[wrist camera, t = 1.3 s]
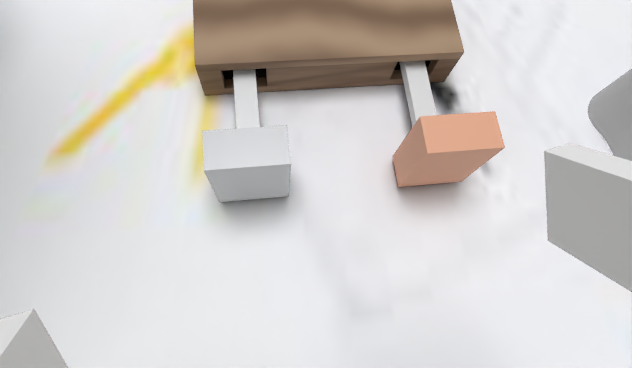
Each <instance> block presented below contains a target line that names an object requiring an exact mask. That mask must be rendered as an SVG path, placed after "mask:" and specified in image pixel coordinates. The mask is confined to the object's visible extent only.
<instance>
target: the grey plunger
mask: <svg viewBox="0 0 632 368" xmlns="http://www.w3.org/2000/svg"><path fill="white" fill-rule="evenodd" d="M233 81H234V97H235V113H236V129H222V130H207V131H202V133H203V161H204V172H205V174H206V176H207V178H208V180H209V182H210V184H211V186H212V188H213V190H214V192H215V194H216V196H217V198H218V200H219V202H226V201H238V200H250V199H262V198H273V197H285V196H289V183H290V170H291V159H290V150H289V140H288V130H287V125H283V126H267V127H260V122H259V109H258V97H257V84H256V72H255V69H242V70H233Z"/></svg>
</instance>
